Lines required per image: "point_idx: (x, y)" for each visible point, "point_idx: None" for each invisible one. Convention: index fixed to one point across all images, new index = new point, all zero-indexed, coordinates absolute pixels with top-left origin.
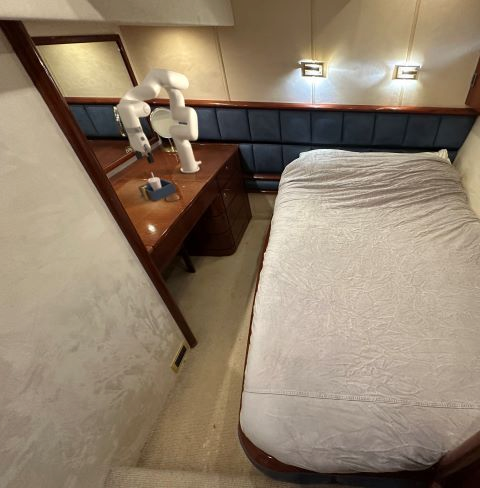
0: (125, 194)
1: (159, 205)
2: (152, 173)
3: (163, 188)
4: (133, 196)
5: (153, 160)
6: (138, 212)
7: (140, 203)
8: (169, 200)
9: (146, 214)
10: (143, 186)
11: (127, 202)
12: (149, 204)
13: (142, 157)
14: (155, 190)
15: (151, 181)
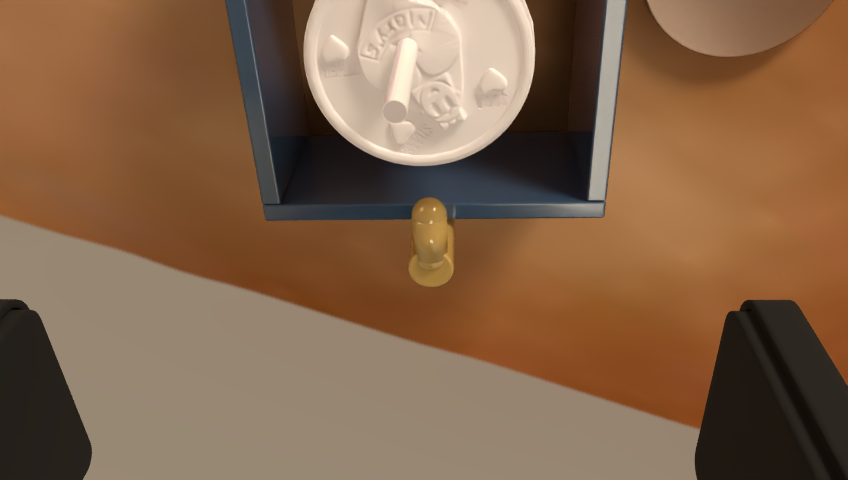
0: (107, 229)
1: (708, 179)
2: (408, 95)
3: (624, 7)
4: (229, 209)
5: (811, 358)
6: (611, 364)
7: (460, 260)
8: (765, 41)
9: None
10: (427, 253)
11: (320, 312)
12: (573, 224)
13: (18, 336)
14: (592, 150)
15: (452, 136)
